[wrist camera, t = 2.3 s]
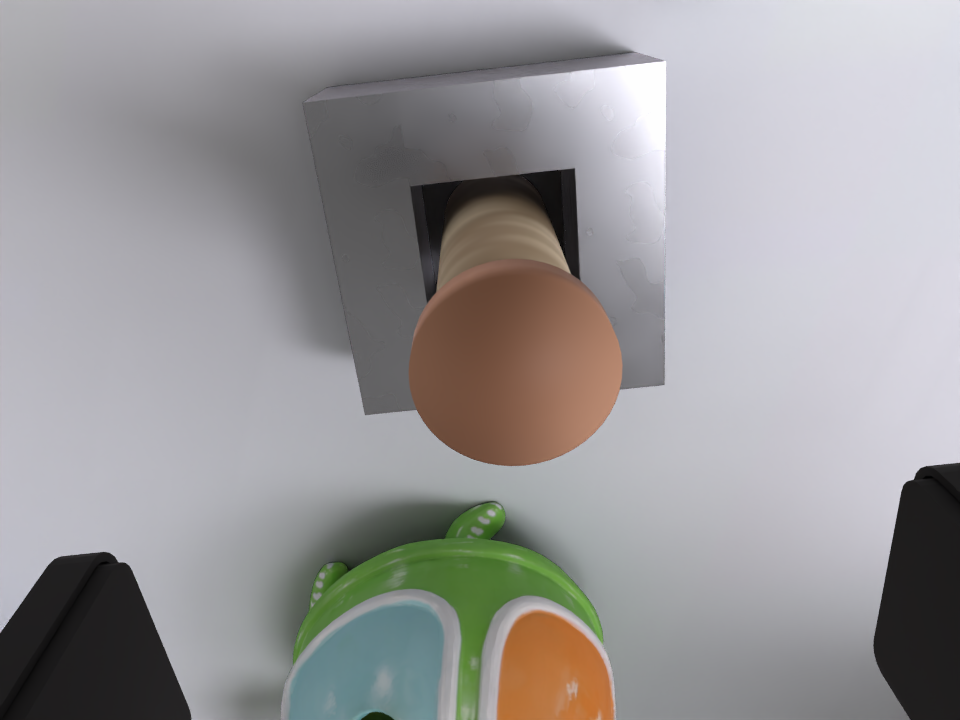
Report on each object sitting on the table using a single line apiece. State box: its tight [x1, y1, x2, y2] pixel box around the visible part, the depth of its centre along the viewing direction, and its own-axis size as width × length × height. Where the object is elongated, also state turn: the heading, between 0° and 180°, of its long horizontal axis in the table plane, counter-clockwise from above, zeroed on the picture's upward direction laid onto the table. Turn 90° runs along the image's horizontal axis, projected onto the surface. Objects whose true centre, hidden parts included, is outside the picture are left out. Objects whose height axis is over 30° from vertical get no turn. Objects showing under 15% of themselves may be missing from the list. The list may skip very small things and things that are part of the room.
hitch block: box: [303, 52, 666, 415], centre depth 24 cm, size 10×10×4 cm
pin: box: [409, 174, 623, 466], centre depth 21 cm, size 4×4×12 cm
